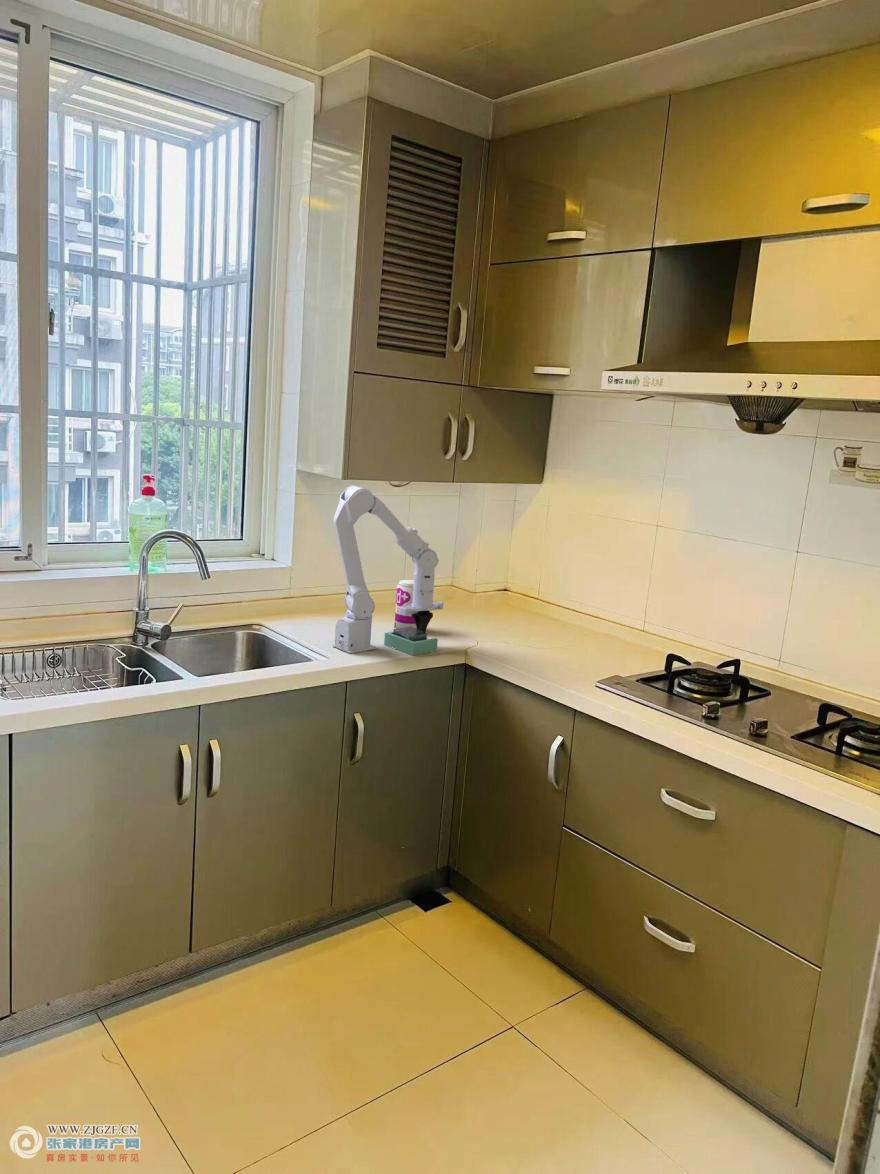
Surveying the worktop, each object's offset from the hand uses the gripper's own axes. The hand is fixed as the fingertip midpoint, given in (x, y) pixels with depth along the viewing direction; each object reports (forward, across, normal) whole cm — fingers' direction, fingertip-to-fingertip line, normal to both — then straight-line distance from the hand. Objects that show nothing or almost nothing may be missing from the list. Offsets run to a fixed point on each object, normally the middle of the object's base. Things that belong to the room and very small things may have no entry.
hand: (420, 636), depth 247 cm
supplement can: (+3, +8, +14) cm, 17 cm away
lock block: (+2, -4, +1) cm, 4 cm away
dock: (+3, -4, 0) cm, 5 cm away
